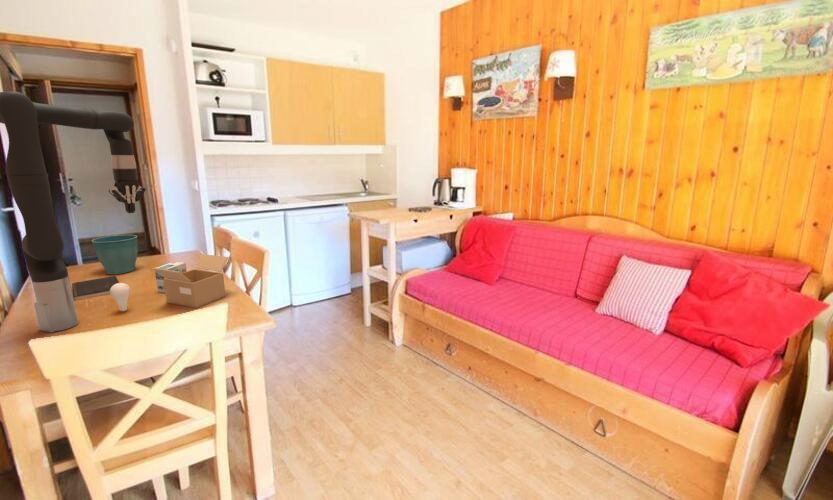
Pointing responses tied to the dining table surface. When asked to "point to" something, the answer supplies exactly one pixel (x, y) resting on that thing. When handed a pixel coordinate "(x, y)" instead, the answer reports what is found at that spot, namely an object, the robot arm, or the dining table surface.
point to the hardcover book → (93, 287)
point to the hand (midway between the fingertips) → (131, 212)
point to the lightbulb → (120, 295)
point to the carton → (195, 288)
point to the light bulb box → (170, 266)
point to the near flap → (171, 274)
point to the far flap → (212, 262)
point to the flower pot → (117, 253)
